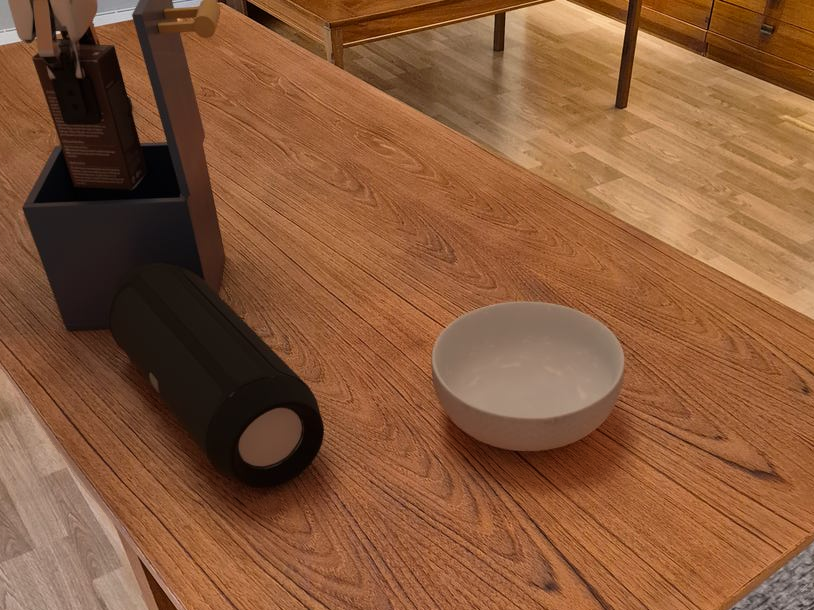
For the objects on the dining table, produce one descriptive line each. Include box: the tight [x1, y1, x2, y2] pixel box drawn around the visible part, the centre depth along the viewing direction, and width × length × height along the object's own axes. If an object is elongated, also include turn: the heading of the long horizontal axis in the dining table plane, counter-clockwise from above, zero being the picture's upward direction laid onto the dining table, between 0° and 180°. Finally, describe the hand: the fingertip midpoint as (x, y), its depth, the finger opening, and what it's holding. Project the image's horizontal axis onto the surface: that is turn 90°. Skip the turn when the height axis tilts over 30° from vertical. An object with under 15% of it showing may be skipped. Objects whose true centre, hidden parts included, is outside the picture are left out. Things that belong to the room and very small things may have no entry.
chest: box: [21, 141, 226, 332], centre depth 91 cm, size 15×14×13 cm
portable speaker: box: [109, 263, 325, 490], centre depth 77 cm, size 26×10×10 cm, turn 37°
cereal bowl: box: [430, 301, 626, 452], centre depth 78 cm, size 17×17×7 cm
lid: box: [131, 0, 221, 196], centre depth 81 cm, size 15×14×6 cm
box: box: [32, 44, 147, 190], centre depth 82 cm, size 6×4×12 cm
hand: (89, 108), depth 82 cm, fingers closed on box, 5 cm apart
